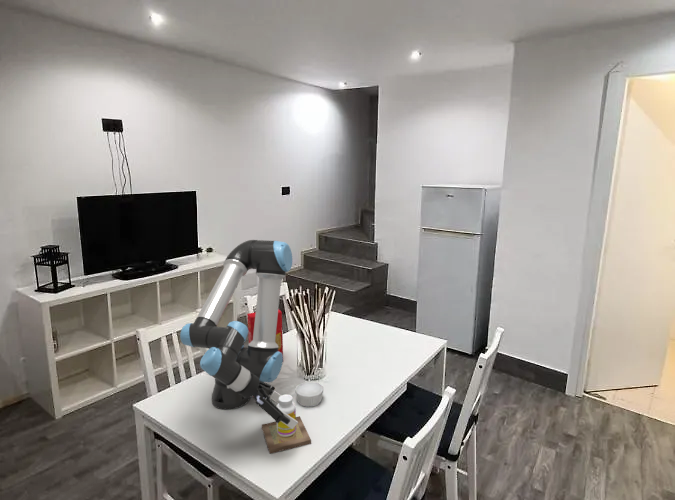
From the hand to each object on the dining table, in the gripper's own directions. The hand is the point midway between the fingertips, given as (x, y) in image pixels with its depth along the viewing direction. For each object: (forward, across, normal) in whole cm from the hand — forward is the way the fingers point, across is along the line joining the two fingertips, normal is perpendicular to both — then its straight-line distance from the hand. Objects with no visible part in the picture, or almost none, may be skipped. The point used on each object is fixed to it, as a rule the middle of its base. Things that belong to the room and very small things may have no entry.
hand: (290, 413), depth 142 cm
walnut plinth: (+5, 0, -7) cm, 8 cm away
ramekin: (+15, -18, +3) cm, 24 cm away
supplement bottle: (+4, 0, -6) cm, 7 cm away
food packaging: (+8, -55, -4) cm, 56 cm away
